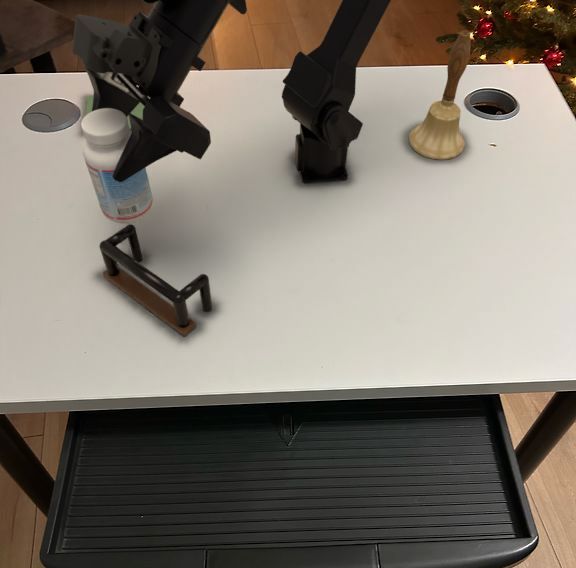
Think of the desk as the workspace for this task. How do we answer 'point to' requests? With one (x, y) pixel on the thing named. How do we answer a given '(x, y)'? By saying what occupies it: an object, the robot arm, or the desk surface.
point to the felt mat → (136, 112)
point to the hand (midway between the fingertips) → (103, 164)
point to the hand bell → (444, 111)
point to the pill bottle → (102, 162)
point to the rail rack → (151, 282)
